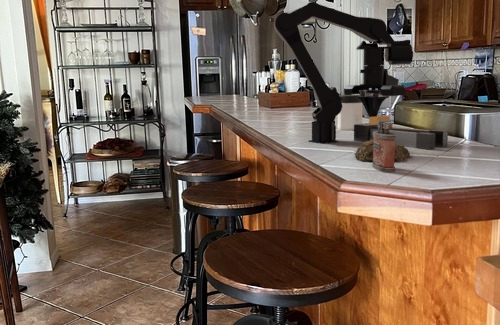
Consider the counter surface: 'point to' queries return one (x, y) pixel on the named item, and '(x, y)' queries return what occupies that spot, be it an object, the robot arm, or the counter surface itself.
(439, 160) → the counter surface
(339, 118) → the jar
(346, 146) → the counter surface
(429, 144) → the tongs base
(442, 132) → the tong arm
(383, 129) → the lighter
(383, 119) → the lock tab
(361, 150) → the bread roll
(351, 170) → the counter surface
